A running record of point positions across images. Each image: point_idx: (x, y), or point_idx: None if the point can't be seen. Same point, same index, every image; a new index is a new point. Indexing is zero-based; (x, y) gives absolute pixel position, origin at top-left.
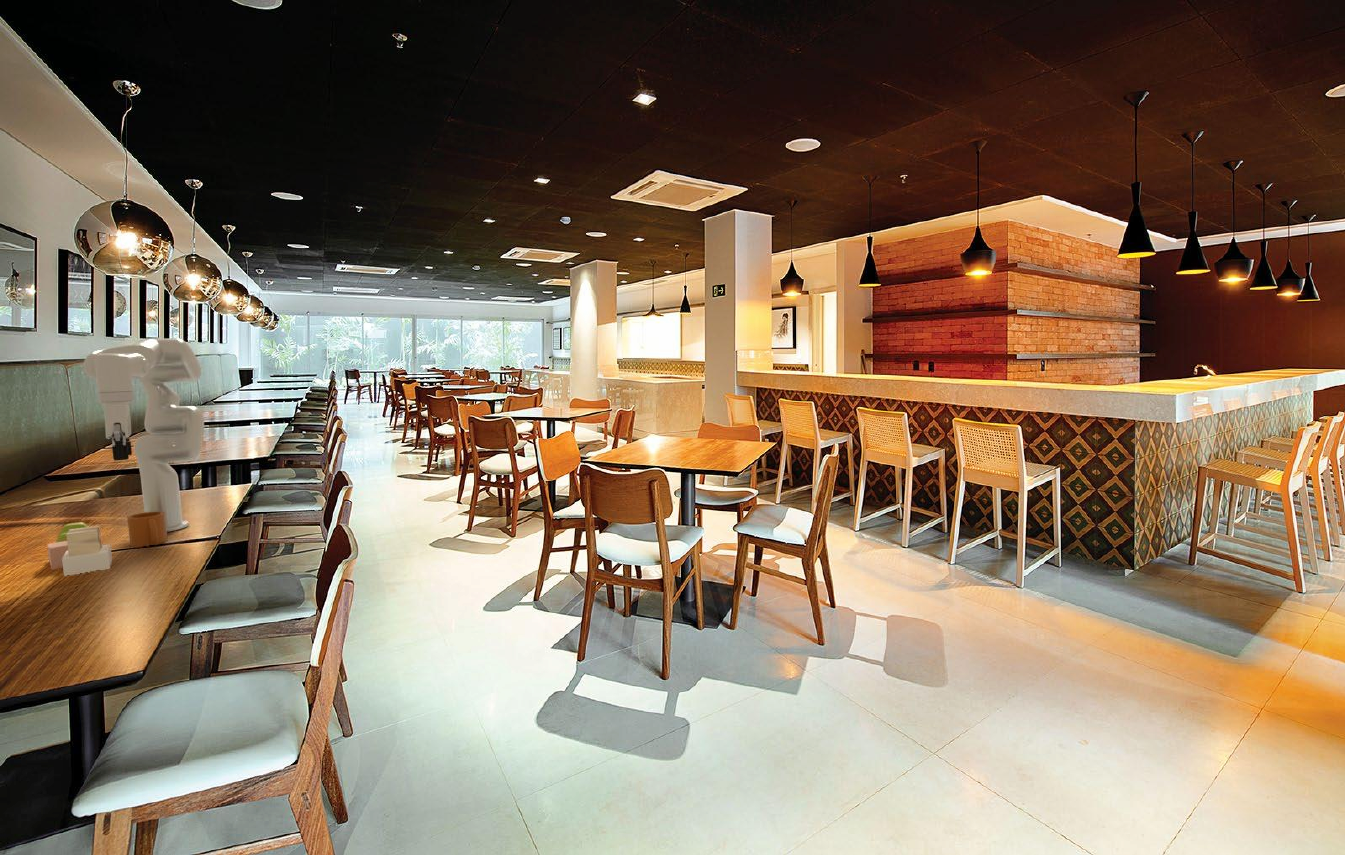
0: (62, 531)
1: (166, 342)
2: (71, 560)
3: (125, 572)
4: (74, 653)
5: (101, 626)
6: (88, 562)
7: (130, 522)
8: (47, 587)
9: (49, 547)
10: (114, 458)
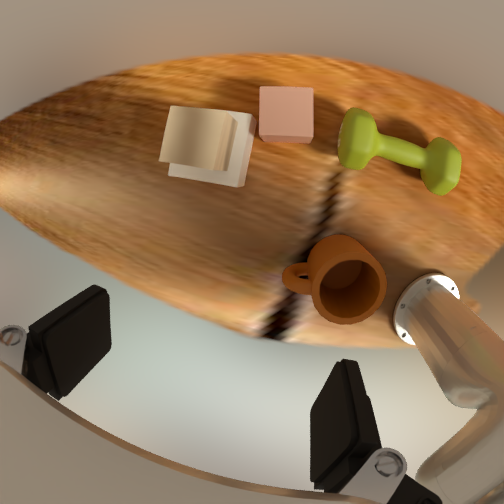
0: (440, 143)
1: None
2: None
3: (141, 193)
4: None
5: (10, 166)
6: None
7: (338, 251)
8: (147, 98)
9: (269, 87)
10: (90, 292)
